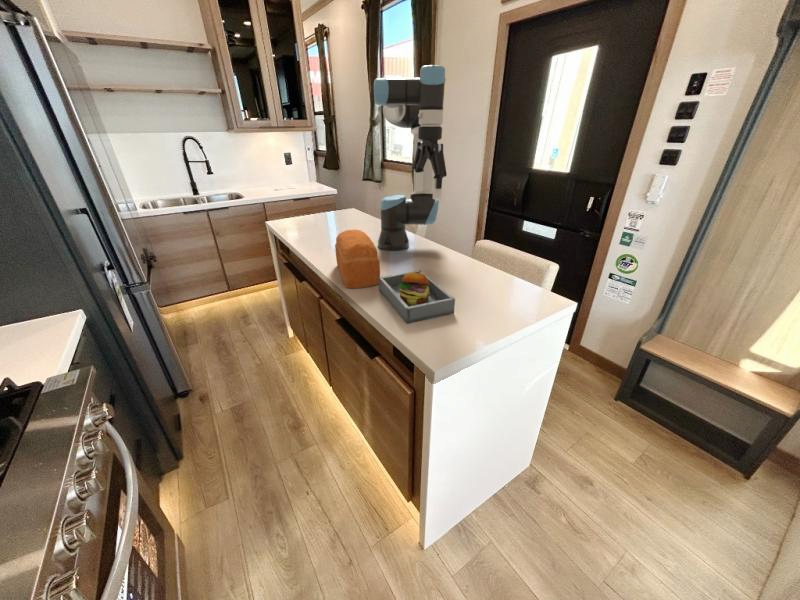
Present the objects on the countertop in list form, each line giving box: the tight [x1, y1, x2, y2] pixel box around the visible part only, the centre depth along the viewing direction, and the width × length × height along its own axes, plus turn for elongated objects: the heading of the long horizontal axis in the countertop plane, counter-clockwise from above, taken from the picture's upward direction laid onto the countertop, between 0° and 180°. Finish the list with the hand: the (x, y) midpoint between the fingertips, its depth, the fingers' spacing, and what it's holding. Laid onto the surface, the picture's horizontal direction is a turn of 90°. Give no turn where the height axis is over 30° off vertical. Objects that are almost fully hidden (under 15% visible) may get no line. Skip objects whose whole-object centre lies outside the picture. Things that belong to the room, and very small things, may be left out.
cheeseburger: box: [399, 272, 430, 306], centre depth 104 cm, size 10×11×10 cm
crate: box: [378, 270, 456, 325], centre depth 105 cm, size 24×16×5 cm, turn 23°
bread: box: [334, 229, 381, 289], centre depth 122 cm, size 14×26×16 cm, turn 17°
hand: (427, 194), depth 112 cm, fingers open, 13 cm apart
